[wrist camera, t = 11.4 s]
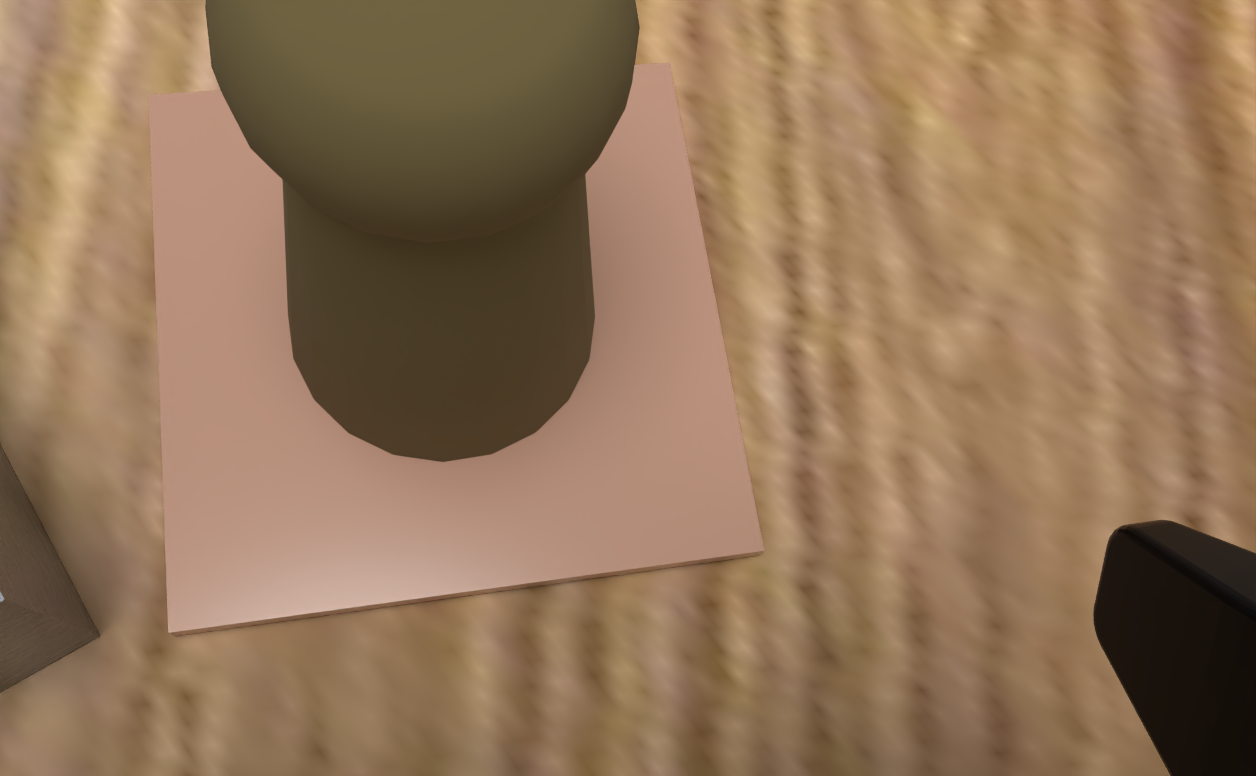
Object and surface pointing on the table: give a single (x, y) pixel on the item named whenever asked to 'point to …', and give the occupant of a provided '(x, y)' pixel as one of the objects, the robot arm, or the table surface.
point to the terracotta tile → (418, 488)
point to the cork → (432, 200)
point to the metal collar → (33, 590)
